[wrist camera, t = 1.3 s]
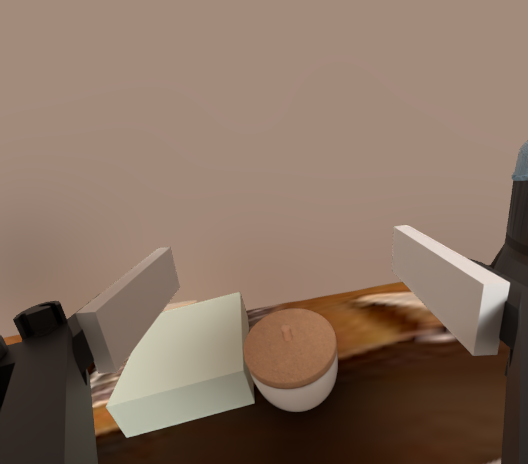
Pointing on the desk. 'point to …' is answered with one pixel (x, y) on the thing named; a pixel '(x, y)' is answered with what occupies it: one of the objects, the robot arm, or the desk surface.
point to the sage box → (185, 367)
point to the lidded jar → (292, 358)
